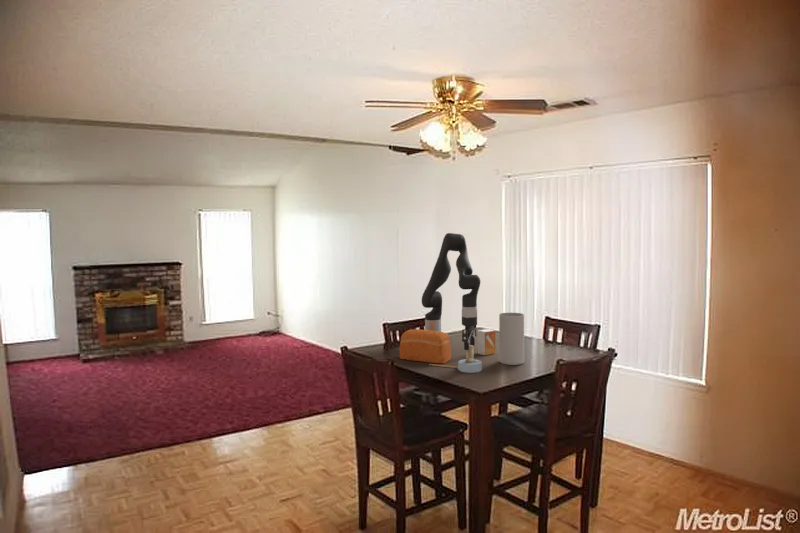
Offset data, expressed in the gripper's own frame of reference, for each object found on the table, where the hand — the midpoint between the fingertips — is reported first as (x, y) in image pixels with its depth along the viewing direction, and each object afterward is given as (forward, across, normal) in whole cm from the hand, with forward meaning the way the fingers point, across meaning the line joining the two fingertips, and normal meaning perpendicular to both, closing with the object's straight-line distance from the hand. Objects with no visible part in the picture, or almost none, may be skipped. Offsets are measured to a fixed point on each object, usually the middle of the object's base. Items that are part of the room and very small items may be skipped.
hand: (469, 348), depth 269 cm
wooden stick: (+11, 0, -13) cm, 17 cm away
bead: (+11, 0, 0) cm, 11 cm away
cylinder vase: (+11, -22, +15) cm, 29 cm away
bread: (+12, -11, -29) cm, 33 cm away
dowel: (+11, 0, 0) cm, 11 cm away
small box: (+11, -36, -3) cm, 38 cm away
